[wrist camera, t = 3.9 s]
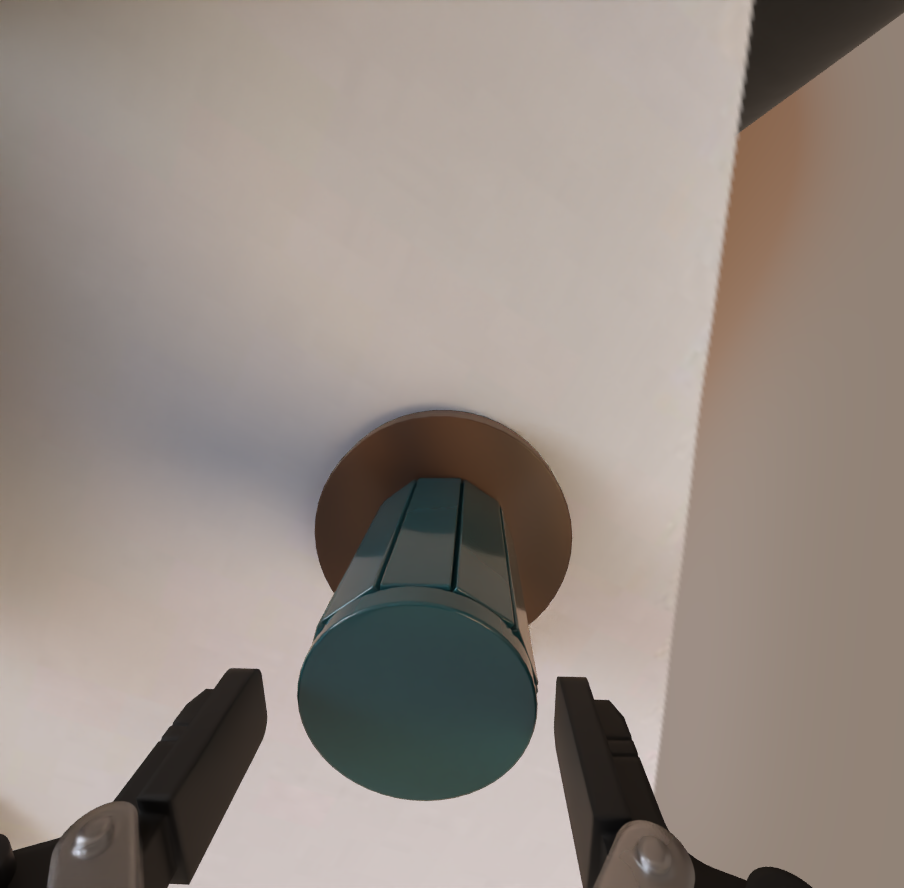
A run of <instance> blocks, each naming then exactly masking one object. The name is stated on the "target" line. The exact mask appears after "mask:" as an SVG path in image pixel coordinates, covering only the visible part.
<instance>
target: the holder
mask: <svg viewBox="0 0 904 888" xmlns="http://www.w3.org/2000/svg"><path fill="white" fill-rule="evenodd" d="M419 478H461V483H462V482H463V481H464V480H467V481H468V482H470V483H471V484H473V485H474V486H476V487H477V488H479V489H480V490H482V491H483V492H484V493H486V494H487V495H489V496H490V497H492V498H493V499H495V500H496V501H498V502H499V506H501V507H502V509H503V511H504V514H505V517H506V520H507V523H508V526H509V529H510V532H511V535H512V538H513V541H514V547H515V552H516V558H517V564H518V570H519V575H520V581H521V587H522V592H523V598H524V604H525V610H526V615H527V621H528V625H529V624H530V623H531V622H533V621H534V620H535V619H536V618H537V617H538V616H539V615H540V614H541V613H542V612H543V611H544V610H545V609H546V608H547V606H548V605H549V603H550V602H551V601H552V599H553V598H554V597H555V595H556V593H557V591H558V589H559V588H560V586H561V584H562V582H563V579H564V577H565V574H566V571H567V569H568V565H569V560H570V555H571V547H572V528H571V519H570V515H569V510H568V506H567V503H566V500H565V498H564V495H563V493H562V490H561V488H560V486H559V484H558V482H557V480H556V479H555V477H554V475H553V473H552V471H551V470H550V468H549V466H548V465H547V463H546V462H545V461H544V459H543V458H542V457H541V455H540V454H539V453H538V452H537V451H536V450H535V449H534V448H533V447H532V446H531V445H530V444H529V443H528V442H527V441H526V440H524V439H523V438H522V437H520V436H519V435H518V434H517V433H515V432H514V431H512V430H510V429H509V428H507V427H505V426H503V425H502V424H500V423H498V422H495V421H493V420H490V419H488V418H485V417H482V416H479V415H475V414H471V413H467V412H460V411H452V410H432V411H424V412H417V413H413V414H409V415H405V416H402V417H399V418H397V419H394V420H392V421H389V422H387V423H385V424H383V425H381V426H380V427H378V428H376V429H375V430H373V431H371V432H370V433H369V434H367V435H366V436H365V437H364V438H362V439H361V440H360V441H359V442H358V443H357V444H356V445H355V446H354V447H353V448H352V449H351V450H350V451H349V452H348V453H347V454H346V455H345V456H344V457H343V458H342V459H341V460H340V462H339V463H338V464H337V466H336V467H335V468H334V470H333V471H332V473H331V474H330V476H329V478H328V480H327V482H326V484H325V486H324V488H323V491H322V494H321V496H320V499H319V502H318V507H317V512H316V519H315V540H316V549H317V554H318V558H319V562H320V565H321V568H322V570H323V573H324V576H325V578H326V580H327V582H328V584H329V585H330V587H331V589H332V591H333V592H334V593H335V591H336V589H337V587H338V585H339V583H340V582H341V580H342V578H343V576H344V574H345V572H346V570H347V568H348V566H349V564H350V563H351V561H352V559H353V557H354V555H355V553H356V551H357V549H358V547H359V545H360V544H361V542H362V540H363V538H364V536H365V534H366V532H367V530H368V528H369V527H370V525H371V523H372V521H373V519H374V517H375V515H376V513H377V511H378V509H379V508H380V506H381V505H382V504H383V502H384V501H385V500H387V499H388V498H389V497H391V496H392V495H394V494H395V493H396V492H398V491H399V490H401V489H402V488H403V487H405V486H406V485H408V484H409V483H410V482H412V481H413V480H416V481H417V482H418V480H419Z"/></svg>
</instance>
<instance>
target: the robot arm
mask: <svg viewBox="0 0 904 888" xmlns="http://www.w3.org/2000/svg"><path fill="white" fill-rule="evenodd" d="M266 725H267V710H266V703H265V695H264V688H263V681H262V674H261V671H260V670H259V669H241V668H231V669H229V670H228V671H227V672H226V673H225V674H224V676H223V677H222V678H221V680H220V681H219V683H218V684H217V685H216V687H215V688H214V689H205V690H204V691H203V692H202V693H200V694H199V695H198V696H197V697H195V698H194V699H193V700H192V701H190V702H189V703H188V704H187V705H186V706H185V707H184V709H183V710H182V711H181V713H180V714H179V715H178V717H177V718H176V719H175V721H174V722H173V725H172V726H170V727H169V728H168V730H167V731H166V732H165V734H164V735H163V736H162V739H161V741H159V742H158V743H157V744H156V746H155V747H154V748H153V750H152V751H151V752H150V754H149V755H148V756H147V758H146V759H145V760H144V762H143V763H142V764H141V765H140V767H139V768H138V769H137V771H136V772H135V773H134V775H133V776H132V777H131V779H130V780H129V781H128V783H127V784H126V785H125V787H124V788H123V789H122V791H121V792H120V793H119V795H118V796H117V797H116V799H115V800H114V801H113V802H111V803H107V804H104V805H102V806H99V807H97V808H95V809H93V810H92V811H90V812H88V813H87V814H85V815H84V816H82V817H81V818H80V819H78V820H77V821H76V822H75V823H74V824H73V825H71V826H70V827H69V828H68V830H67V831H66V832H65V833H64V834H63V835H62V837H60V838H57V839H54V840H50V841H47V842H43V843H39V844H36V845H32V846H29V847H25V848H21V849H18V850H14V851H12V848H11V845H10V842H9V840H8V838H7V837H6V836H5V835H3V834H0V888H167V887H168V885H169V884H188V885H189V884H190V882H191V880H192V878H193V876H194V874H195V872H196V870H197V868H198V866H199V864H200V862H201V860H202V858H203V856H204V854H205V852H206V850H207V848H208V846H209V844H210V842H211V840H212V838H213V836H214V834H215V833H216V831H217V829H218V827H219V825H220V823H221V821H222V819H223V817H224V815H225V813H226V811H227V809H228V807H229V805H230V803H231V801H232V799H233V797H234V795H235V793H236V791H237V789H238V787H239V785H240V783H241V781H242V779H243V777H244V775H245V773H246V772H247V770H248V768H249V766H250V764H251V762H252V760H253V758H254V756H255V754H256V752H257V750H258V748H259V746H260V744H261V742H262V740H263V737H264V734H265V730H266ZM554 736H555V746H556V752H557V757H558V763H559V768H560V773H561V778H562V783H563V788H564V793H565V798H566V803H567V808H568V813H569V819H570V824H571V829H572V834H573V839H574V844H575V849H576V854H577V859H578V864H579V870H580V875H581V880H582V885H583V888H812V887H811V886H810V885H808V884H807V883H806V882H805V881H803V880H802V879H800V878H798V877H797V876H795V875H793V874H791V873H789V872H787V871H785V870H781V869H779V868H774V867H762V868H758V869H756V870H754V871H753V872H752V873H751V874H750V875H749V877H748V879H747V881H746V880H744V879H741V878H738V877H736V876H733V875H730V874H728V873H725V872H723V871H720V870H717V869H714V868H712V867H710V866H708V865H706V864H704V863H702V862H700V861H699V860H697V859H696V858H694V857H693V856H691V855H690V854H689V853H688V852H687V851H686V849H685V848H684V846H683V845H682V844H681V843H680V841H679V840H678V839H677V838H676V837H675V836H674V835H673V834H672V833H670V832H669V830H668V828H667V826H666V824H665V823H664V820H663V817H662V815H661V812H660V810H659V807H658V804H657V802H656V799H655V797H654V794H653V791H652V789H651V786H650V784H649V781H648V778H647V776H646V773H645V771H644V768H643V765H642V763H641V760H640V758H639V757H638V752H637V750H636V747H635V745H634V742H633V741H632V738H631V734H630V732H629V729H628V727H627V724H626V721H625V719H624V717H623V716H622V714H621V713H620V712H619V711H618V710H617V709H616V708H615V706H614V705H613V704H612V703H611V702H610V701H609V700H594V698H593V695H592V692H591V689H590V686H589V683H588V680H587V678H586V677H557V681H556V698H555V717H554Z"/></svg>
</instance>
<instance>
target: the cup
mask: <svg viewBox="0 0 904 888" xmlns="http://www.w3.org/2000/svg"><path fill="white" fill-rule="evenodd" d="M537 685H538V678H537V673H536V667H535V661H534V655H533V650H532V644H531V638H530V633H529V627H528V621H527V615H526V610H525V604H524V598H523V592H522V587H521V581H520V575H519V570H518V564H517V558H516V552H515V547H514V541H513V538H512V535H511V532H510V529H509V526H508V523H507V520H506V517H505V514H504V511H503V509H502V507H501V506H499V502H498V501H496V500H495V499H493V498H492V497H490V496H489V495H487V494H486V493H484V492H483V491H482V490H480V489H479V488H477V487H476V486H474V485H473V484H471V483H470V482H468V481H467V480H464V481H463V482H462V483H461V478H419V480H418V482H417V481H416V480H413V481H412V482H410V483H409V484H408V485H406V486H405V487H403V488H402V489H401V490H399V491H398V492H396V493H395V494H394V495H392V496H391V497H389V498H388V499H387V500H385V501H384V502H383V504H382V505H381V506H380V508H379V509H378V511H377V513H376V515H375V517H374V519H373V521H372V523H371V525H370V527H369V528H368V530H367V532H366V534H365V536H364V538H363V540H362V542H361V544H360V545H359V547H358V549H357V551H356V553H355V555H354V557H353V559H352V561H351V563H350V564H349V566H348V568H347V570H346V572H345V574H344V576H343V578H342V580H341V582H340V583H339V585H338V587H337V589H336V591H335V593H334V595H333V597H332V599H331V600H330V602H329V604H328V606H327V608H326V610H325V612H324V614H323V616H322V618H321V619H320V621H319V623H318V625H317V628H316V632H315V635H314V639H313V643H312V646H311V647H310V649H309V651H308V653H307V655H306V657H305V660H304V662H303V665H302V668H301V670H300V675H299V680H298V692H297V698H298V707H299V713H300V717H301V720H302V724H303V726H304V728H305V731H306V733H307V735H308V737H309V739H310V740H311V742H312V744H313V745H314V747H315V748H316V749H317V751H318V752H319V753H320V754H321V756H322V757H323V758H324V759H325V760H326V761H327V762H328V763H329V764H330V765H331V766H332V767H333V768H334V769H336V770H337V771H338V772H340V773H341V774H342V775H343V776H345V777H347V778H348V779H350V780H351V781H353V782H355V783H356V784H358V785H360V786H363V787H365V788H367V789H369V790H371V791H374V792H377V793H380V794H382V795H386V796H390V797H394V798H399V799H406V800H417V801H434V800H444V799H451V798H456V797H460V796H463V795H467V794H470V793H472V792H475V791H477V790H480V789H482V788H484V787H486V786H488V785H489V784H491V783H493V782H495V781H496V780H497V779H499V778H500V777H502V776H503V775H504V774H505V773H506V772H508V771H509V770H510V769H511V768H512V767H513V766H514V765H515V764H516V762H517V761H518V760H519V759H520V757H521V756H522V755H523V753H524V751H525V749H526V748H527V746H528V744H529V742H530V739H531V737H532V734H533V732H534V728H535V724H536V719H537V705H538V704H537V692H538V688H537Z"/></svg>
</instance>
